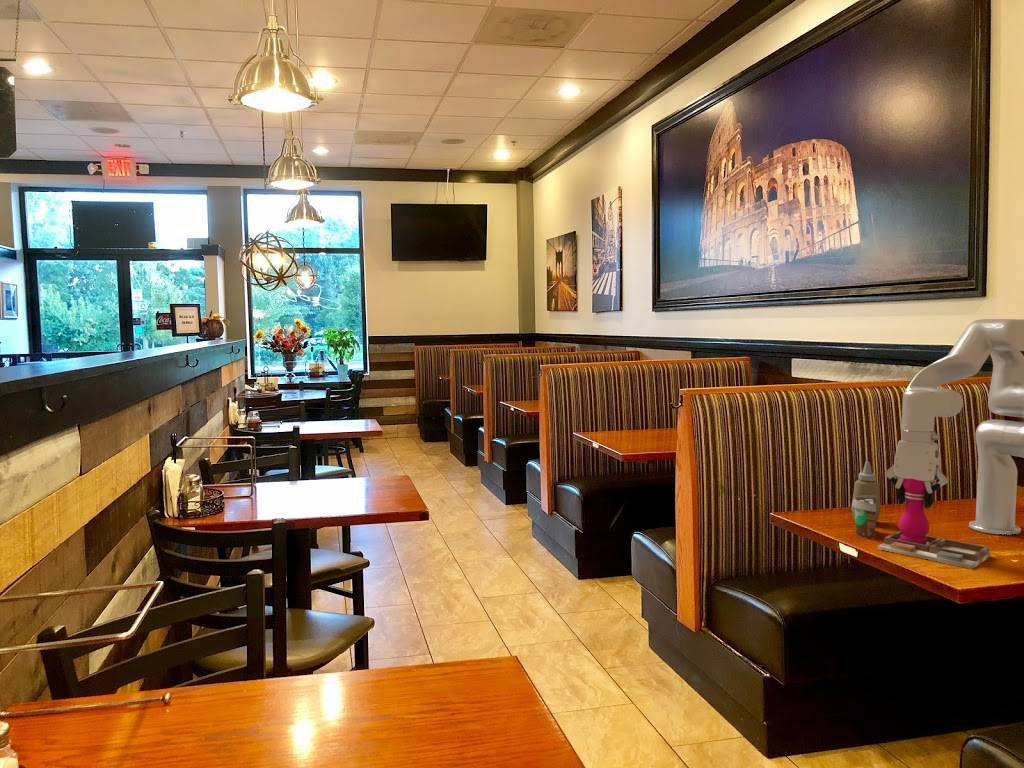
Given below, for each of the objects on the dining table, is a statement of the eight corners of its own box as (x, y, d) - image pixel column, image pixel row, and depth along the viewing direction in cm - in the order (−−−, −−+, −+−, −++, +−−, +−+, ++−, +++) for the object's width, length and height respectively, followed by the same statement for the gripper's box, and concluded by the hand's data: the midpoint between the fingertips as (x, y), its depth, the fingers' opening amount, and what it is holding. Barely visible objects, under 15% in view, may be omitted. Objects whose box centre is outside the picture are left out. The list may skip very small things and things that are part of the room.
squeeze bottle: (886, 522, 229) (888, 462, 227) (870, 526, 224) (873, 465, 223) (860, 517, 235) (862, 458, 234) (845, 520, 231) (847, 461, 229)
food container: (852, 527, 223) (853, 493, 223) (875, 530, 221) (876, 495, 220) (850, 537, 212) (851, 502, 212) (874, 540, 210) (876, 504, 209)
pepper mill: (932, 548, 199) (936, 471, 198) (902, 546, 201) (905, 470, 199) (923, 540, 206) (926, 466, 205) (894, 538, 208) (897, 465, 206)
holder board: (899, 538, 211) (899, 529, 211) (990, 556, 195) (991, 546, 195) (877, 549, 201) (877, 540, 201) (971, 569, 185) (972, 558, 185)
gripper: (958, 439, 197) (955, 508, 199) (888, 432, 210) (886, 497, 211) (948, 442, 192) (945, 513, 194) (877, 435, 205) (875, 502, 206)
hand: (914, 504), depth 203 cm, fingers open, 5 cm apart
